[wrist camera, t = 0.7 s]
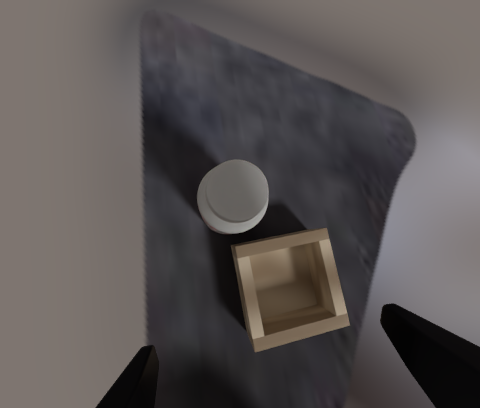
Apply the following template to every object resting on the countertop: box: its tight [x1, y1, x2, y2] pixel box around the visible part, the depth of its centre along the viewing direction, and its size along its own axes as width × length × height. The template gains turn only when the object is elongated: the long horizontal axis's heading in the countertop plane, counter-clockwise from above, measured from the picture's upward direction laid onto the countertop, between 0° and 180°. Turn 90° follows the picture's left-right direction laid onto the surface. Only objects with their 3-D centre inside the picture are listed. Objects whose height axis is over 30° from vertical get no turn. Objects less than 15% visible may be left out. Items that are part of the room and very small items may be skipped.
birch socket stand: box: [231, 228, 350, 352], centre depth 21 cm, size 8×8×4 cm
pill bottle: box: [197, 160, 269, 234], centre depth 19 cm, size 5×5×10 cm
